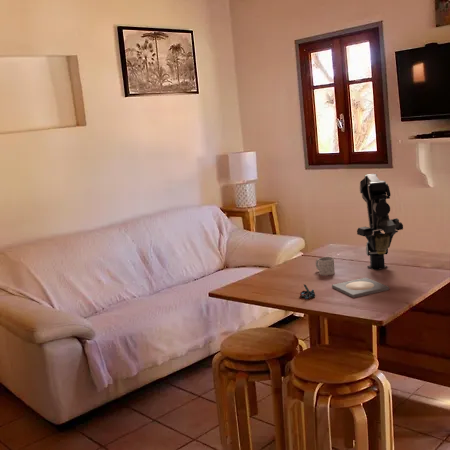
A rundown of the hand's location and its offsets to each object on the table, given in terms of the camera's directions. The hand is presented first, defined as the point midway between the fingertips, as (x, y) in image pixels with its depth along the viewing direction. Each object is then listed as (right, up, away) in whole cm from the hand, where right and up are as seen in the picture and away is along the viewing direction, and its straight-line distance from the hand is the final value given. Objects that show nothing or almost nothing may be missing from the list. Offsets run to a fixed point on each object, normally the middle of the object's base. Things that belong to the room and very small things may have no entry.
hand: (381, 249), depth 242 cm
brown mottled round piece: (0, -2, 0) cm, 2 cm away
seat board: (-11, -15, -10) cm, 21 cm away
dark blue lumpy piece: (-32, -19, -13) cm, 39 cm away
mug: (-21, -11, +17) cm, 29 cm away
